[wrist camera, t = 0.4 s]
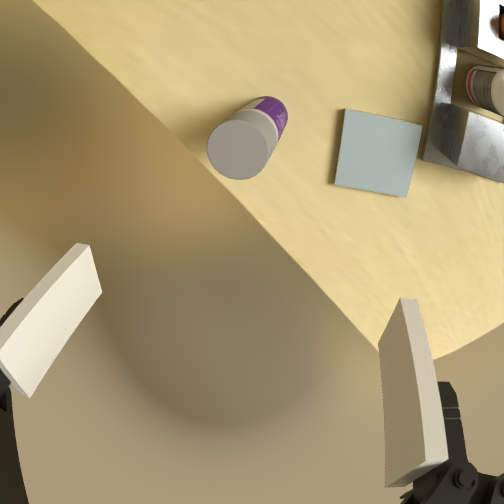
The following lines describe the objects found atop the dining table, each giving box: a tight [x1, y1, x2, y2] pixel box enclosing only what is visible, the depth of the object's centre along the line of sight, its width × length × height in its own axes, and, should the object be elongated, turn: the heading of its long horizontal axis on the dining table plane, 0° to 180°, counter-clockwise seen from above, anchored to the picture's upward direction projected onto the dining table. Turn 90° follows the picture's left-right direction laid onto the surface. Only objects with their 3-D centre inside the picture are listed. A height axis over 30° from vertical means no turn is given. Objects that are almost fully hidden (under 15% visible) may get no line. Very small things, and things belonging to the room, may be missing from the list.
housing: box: [421, 0, 504, 183], centre depth 23 cm, size 22×13×6 cm, turn 177°
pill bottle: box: [466, 65, 504, 117], centre depth 22 cm, size 5×5×10 cm
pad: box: [334, 109, 423, 198], centre depth 33 cm, size 9×9×1 cm
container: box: [207, 96, 288, 180], centre depth 28 cm, size 5×5×15 cm
